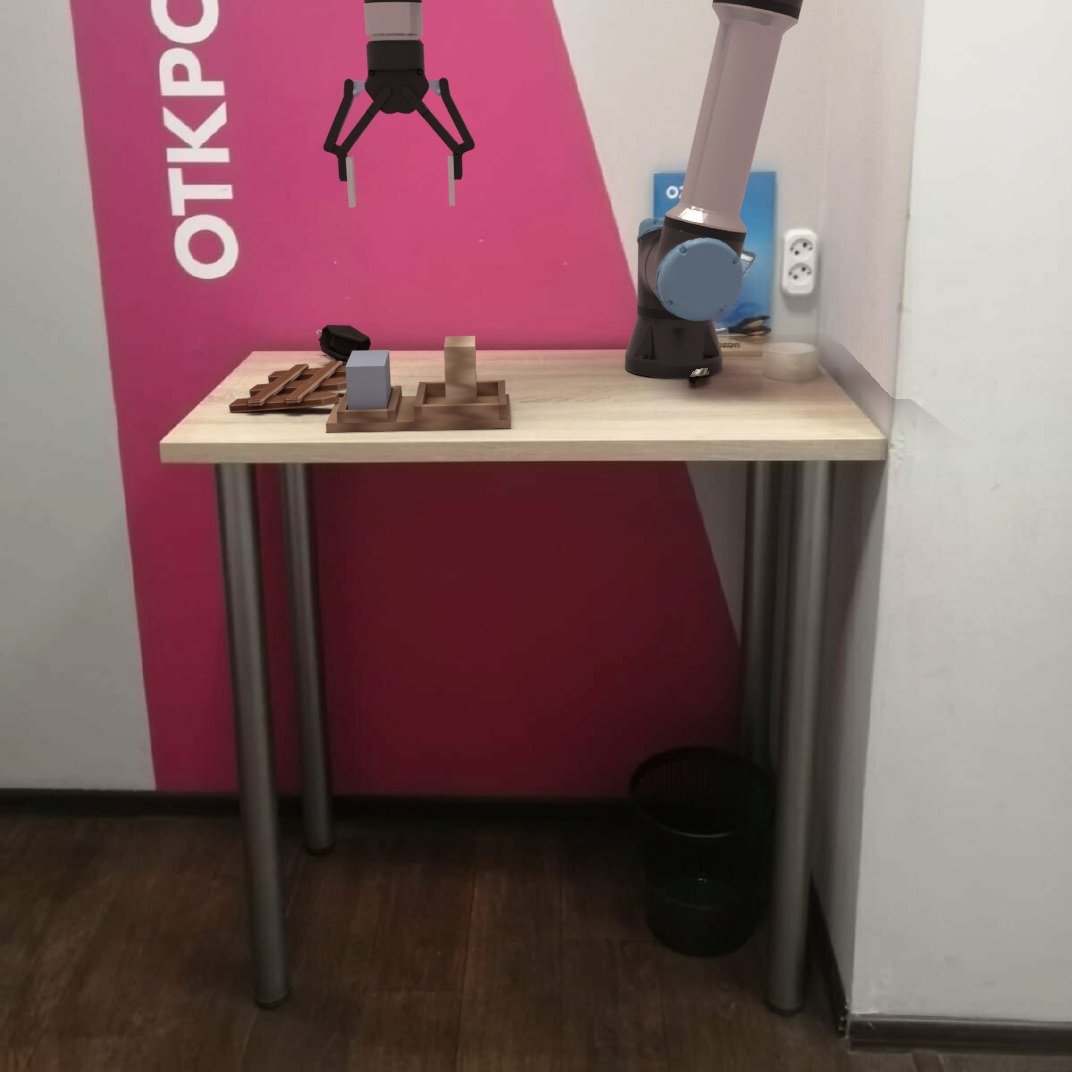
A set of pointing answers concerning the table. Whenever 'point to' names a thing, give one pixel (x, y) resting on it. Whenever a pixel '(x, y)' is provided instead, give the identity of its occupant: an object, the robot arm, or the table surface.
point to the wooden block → (460, 370)
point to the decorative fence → (296, 389)
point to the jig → (427, 411)
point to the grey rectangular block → (368, 380)
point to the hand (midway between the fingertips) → (402, 206)
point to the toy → (342, 341)
